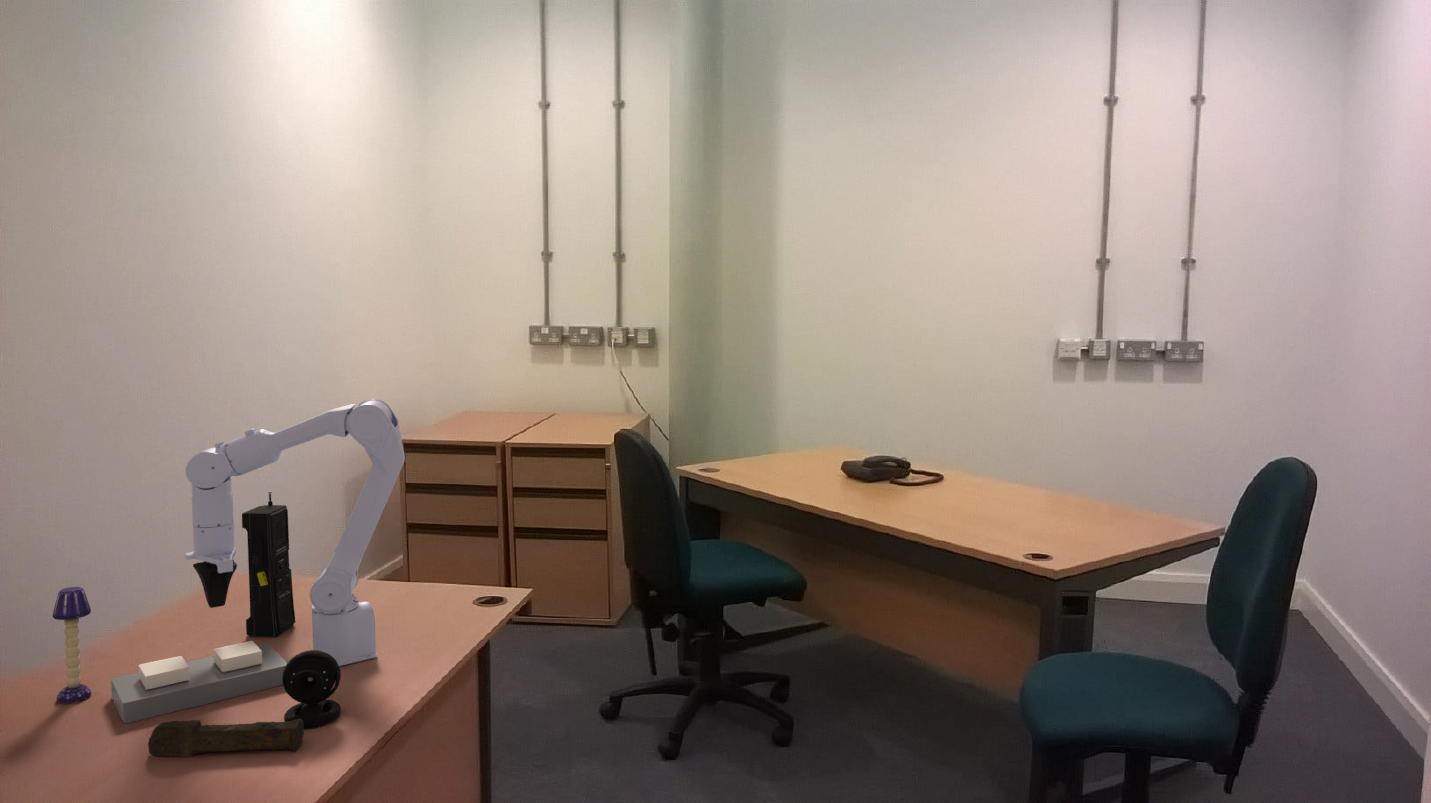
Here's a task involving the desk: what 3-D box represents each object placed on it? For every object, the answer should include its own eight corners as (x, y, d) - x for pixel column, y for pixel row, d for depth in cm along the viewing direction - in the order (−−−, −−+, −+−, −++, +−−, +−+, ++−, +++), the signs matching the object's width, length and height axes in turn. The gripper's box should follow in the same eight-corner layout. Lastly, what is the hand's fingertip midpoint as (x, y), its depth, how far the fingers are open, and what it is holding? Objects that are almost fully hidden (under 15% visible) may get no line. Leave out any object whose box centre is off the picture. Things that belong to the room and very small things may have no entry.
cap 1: (182, 685, 139) (181, 655, 138) (190, 697, 134) (189, 666, 134) (140, 695, 135) (138, 664, 134) (146, 708, 131) (145, 676, 130)
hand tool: (307, 741, 123) (306, 708, 123) (297, 755, 119) (296, 722, 119) (160, 747, 121) (158, 714, 120) (144, 762, 117) (143, 728, 116)
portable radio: (276, 640, 159) (271, 501, 156) (242, 639, 159) (237, 500, 156) (297, 624, 167) (293, 492, 164) (265, 623, 167) (260, 491, 164)
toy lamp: (63, 692, 136) (56, 585, 134) (99, 688, 138) (93, 582, 136) (52, 705, 132) (45, 595, 130) (90, 701, 133) (83, 592, 132)
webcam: (276, 731, 125) (274, 662, 124) (291, 708, 132) (288, 642, 131) (336, 727, 127) (334, 659, 126) (346, 704, 134) (345, 639, 133)
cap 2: (253, 669, 145) (252, 640, 145) (262, 680, 141) (261, 651, 140) (214, 678, 141) (213, 648, 141) (223, 689, 137) (221, 659, 137)
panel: (269, 661, 149) (269, 644, 149) (289, 683, 141) (289, 664, 141) (111, 697, 135) (110, 678, 135) (124, 723, 127) (122, 703, 126)
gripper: (175, 518, 147) (178, 599, 148) (195, 536, 136) (198, 623, 137) (223, 512, 151) (226, 590, 153) (246, 529, 141) (249, 613, 142)
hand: (216, 605), depth 145 cm, fingers closed
